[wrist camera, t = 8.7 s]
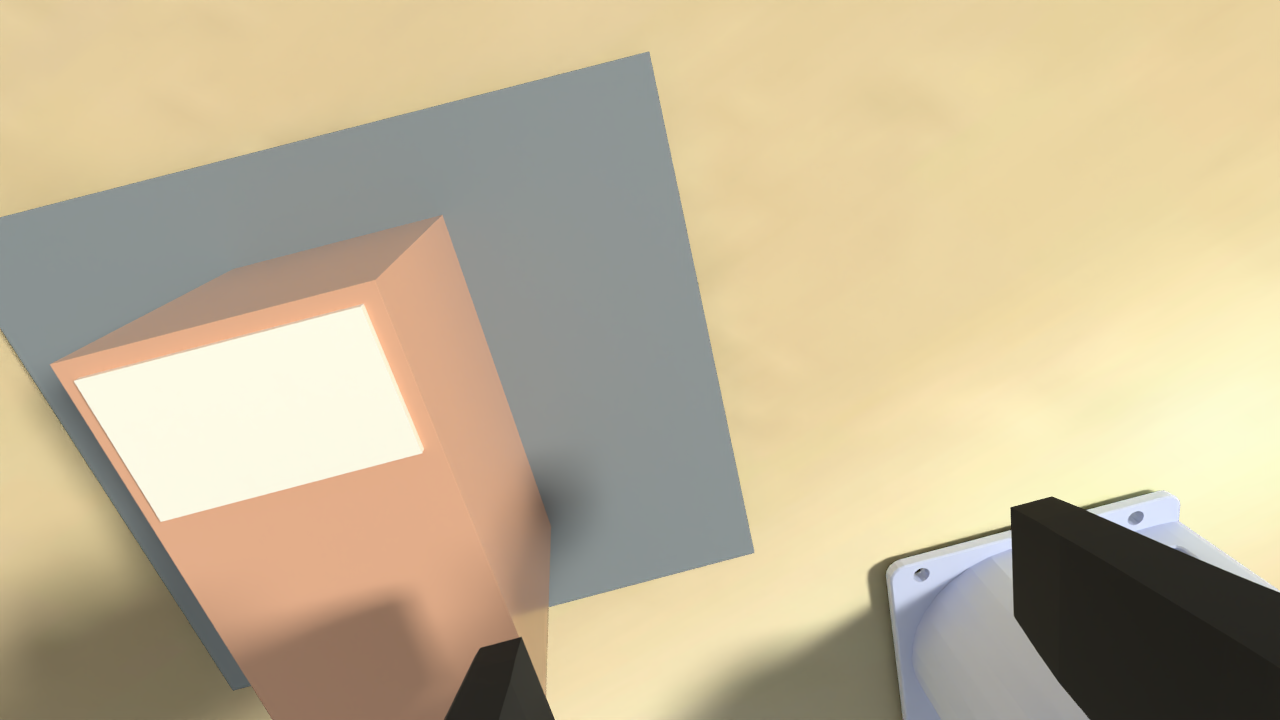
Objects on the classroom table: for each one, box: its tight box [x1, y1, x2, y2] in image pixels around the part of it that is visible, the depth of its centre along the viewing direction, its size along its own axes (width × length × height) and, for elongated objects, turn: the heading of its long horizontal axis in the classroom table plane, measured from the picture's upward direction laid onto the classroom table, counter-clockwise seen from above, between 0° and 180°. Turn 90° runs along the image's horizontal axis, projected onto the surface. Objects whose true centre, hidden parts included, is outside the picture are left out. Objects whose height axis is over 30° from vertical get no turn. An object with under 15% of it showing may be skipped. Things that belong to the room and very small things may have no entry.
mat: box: [0, 52, 754, 690], centre depth 18 cm, size 16×14×1 cm
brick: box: [50, 215, 551, 720], centre depth 14 cm, size 9×5×6 cm, turn 13°
